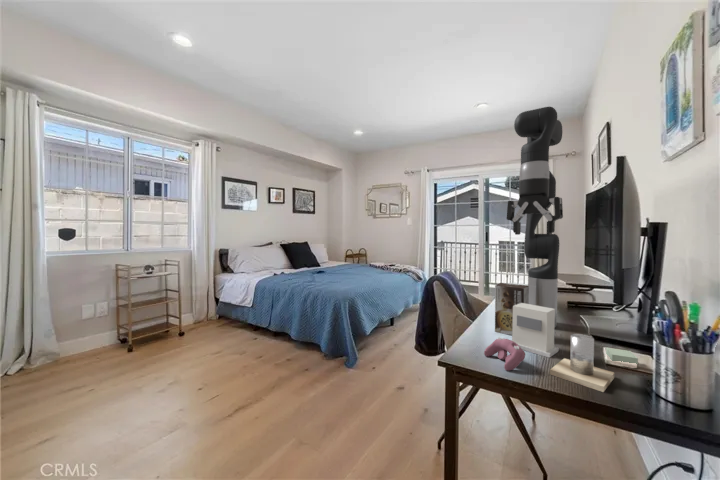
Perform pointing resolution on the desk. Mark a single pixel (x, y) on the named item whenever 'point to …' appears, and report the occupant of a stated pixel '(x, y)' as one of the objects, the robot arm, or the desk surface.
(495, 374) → the desk surface
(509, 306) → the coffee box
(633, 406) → the desk surface
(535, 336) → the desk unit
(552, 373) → the birch pad
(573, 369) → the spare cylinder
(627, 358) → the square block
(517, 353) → the video game controller
